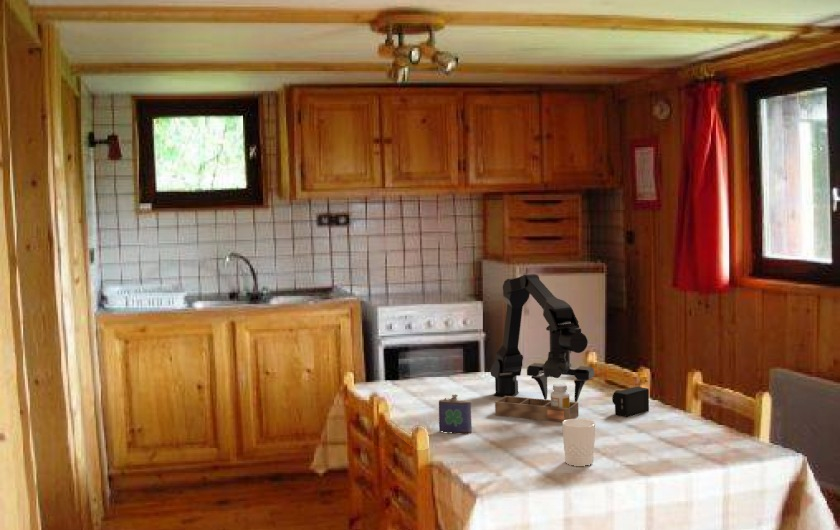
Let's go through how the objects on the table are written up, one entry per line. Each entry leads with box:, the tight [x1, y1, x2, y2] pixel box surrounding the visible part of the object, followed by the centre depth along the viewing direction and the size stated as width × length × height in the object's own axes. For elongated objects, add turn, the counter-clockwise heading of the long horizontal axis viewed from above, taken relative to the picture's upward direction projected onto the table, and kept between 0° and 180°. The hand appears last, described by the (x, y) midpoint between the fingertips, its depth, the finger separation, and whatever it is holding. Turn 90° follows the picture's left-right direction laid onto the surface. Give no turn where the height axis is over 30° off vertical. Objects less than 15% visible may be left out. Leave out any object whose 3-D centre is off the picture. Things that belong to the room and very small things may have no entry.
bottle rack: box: [494, 396, 580, 423], centre depth 263 cm, size 23×8×4 cm, turn 62°
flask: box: [438, 394, 473, 434], centre depth 248 cm, size 9×3×11 cm, turn 74°
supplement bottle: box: [550, 383, 571, 408], centre depth 259 cm, size 5×5×10 cm
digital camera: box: [611, 386, 650, 419], centre depth 263 cm, size 10×5×7 cm, turn 128°
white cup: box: [561, 418, 596, 467], centre depth 217 cm, size 8×8×10 cm
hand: (560, 400), depth 259 cm, fingers open, 9 cm apart
